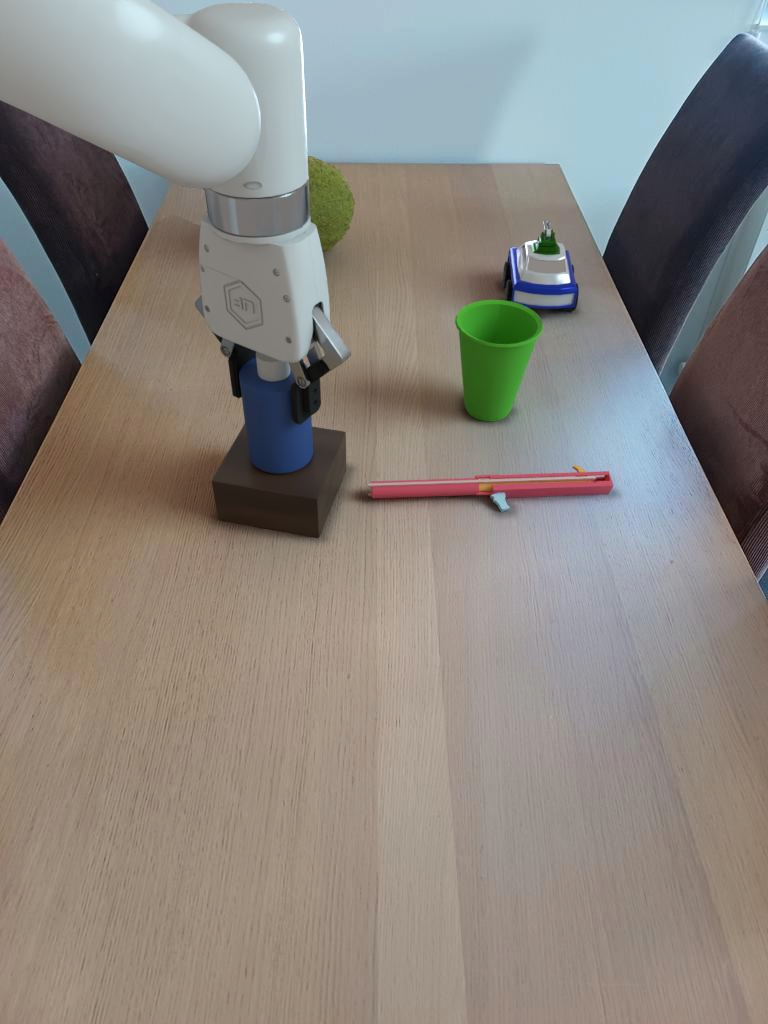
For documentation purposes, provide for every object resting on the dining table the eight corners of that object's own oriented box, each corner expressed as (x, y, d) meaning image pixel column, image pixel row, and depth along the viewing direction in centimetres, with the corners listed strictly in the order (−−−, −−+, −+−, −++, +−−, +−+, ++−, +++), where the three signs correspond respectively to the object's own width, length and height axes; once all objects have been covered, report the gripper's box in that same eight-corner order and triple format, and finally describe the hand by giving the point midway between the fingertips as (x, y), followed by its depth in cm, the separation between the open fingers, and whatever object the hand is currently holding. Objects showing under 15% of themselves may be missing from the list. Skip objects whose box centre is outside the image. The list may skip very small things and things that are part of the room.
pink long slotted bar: (611, 511, 79) (602, 471, 82) (618, 501, 78) (608, 460, 80) (369, 520, 78) (366, 478, 80) (370, 510, 76) (367, 467, 78)
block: (319, 538, 75) (317, 498, 71) (217, 520, 76) (211, 480, 73) (346, 470, 82) (346, 431, 78) (253, 454, 83) (248, 415, 80)
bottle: (287, 482, 73) (278, 381, 65) (235, 458, 75) (221, 357, 67) (325, 447, 76) (322, 347, 69) (276, 425, 79) (266, 326, 71)
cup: (444, 428, 87) (452, 340, 80) (450, 381, 94) (458, 295, 86) (527, 437, 86) (543, 349, 79) (528, 388, 93) (543, 303, 85)
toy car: (567, 277, 113) (579, 211, 106) (577, 322, 104) (591, 253, 97) (500, 274, 113) (509, 208, 106) (505, 319, 104) (514, 250, 98)
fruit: (290, 218, 125) (335, 132, 115) (340, 283, 121) (391, 200, 111) (204, 214, 113) (245, 118, 103) (257, 286, 109) (305, 193, 99)
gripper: (136, 192, 60) (175, 391, 73) (323, 253, 53) (331, 460, 66) (204, 161, 65) (230, 353, 77) (385, 214, 58) (380, 415, 71)
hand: (276, 401), depth 71 cm, fingers closed on bottle, 6 cm apart
